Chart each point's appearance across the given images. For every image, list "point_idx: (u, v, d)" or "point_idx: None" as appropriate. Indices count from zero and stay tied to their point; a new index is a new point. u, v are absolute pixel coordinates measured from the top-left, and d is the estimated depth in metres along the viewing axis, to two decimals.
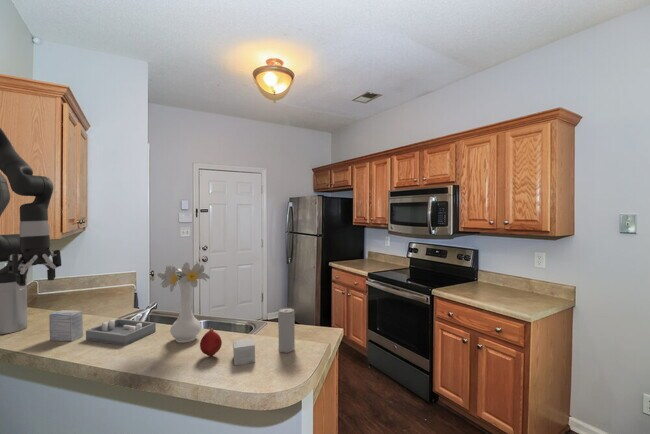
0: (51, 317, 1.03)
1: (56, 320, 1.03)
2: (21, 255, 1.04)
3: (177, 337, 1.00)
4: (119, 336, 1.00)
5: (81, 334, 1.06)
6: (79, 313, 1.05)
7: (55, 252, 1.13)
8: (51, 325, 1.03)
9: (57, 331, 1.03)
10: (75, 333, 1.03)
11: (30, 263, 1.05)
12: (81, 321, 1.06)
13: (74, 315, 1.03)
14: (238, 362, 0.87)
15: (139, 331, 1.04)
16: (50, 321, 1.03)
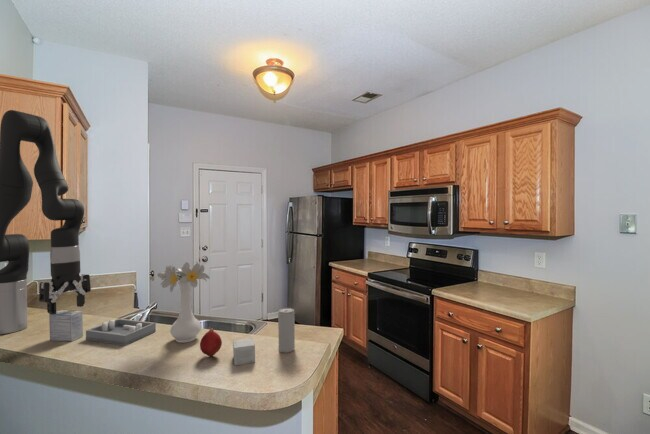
0: (51, 317, 1.03)
1: (56, 320, 1.03)
2: (52, 282, 1.00)
3: (177, 337, 1.00)
4: (119, 336, 1.00)
5: (81, 334, 1.06)
6: (79, 313, 1.05)
7: (85, 277, 1.09)
8: (51, 325, 1.03)
9: (57, 331, 1.03)
10: (75, 333, 1.03)
11: (61, 291, 1.01)
12: (81, 321, 1.06)
13: (74, 315, 1.03)
14: (238, 362, 0.87)
15: (139, 331, 1.04)
16: (50, 321, 1.03)
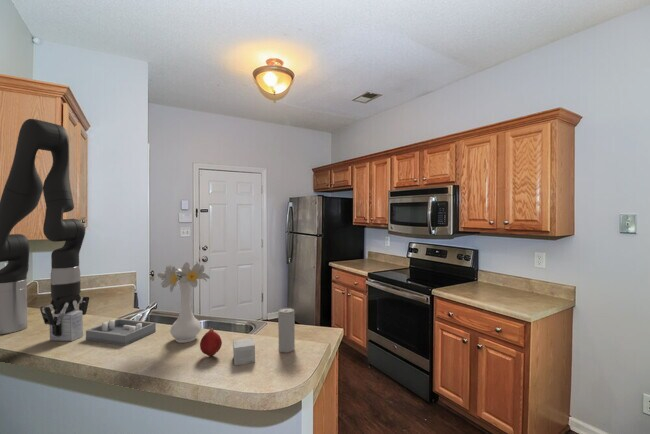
0: None
1: None
2: (52, 305, 1.00)
3: (177, 337, 1.00)
4: (119, 336, 1.00)
5: (81, 334, 1.06)
6: (79, 313, 1.05)
7: (84, 299, 1.10)
8: (51, 325, 1.03)
9: None
10: (75, 333, 1.03)
11: (63, 312, 1.02)
12: (81, 321, 1.06)
13: (74, 314, 1.03)
14: (238, 362, 0.87)
15: (139, 331, 1.04)
16: None
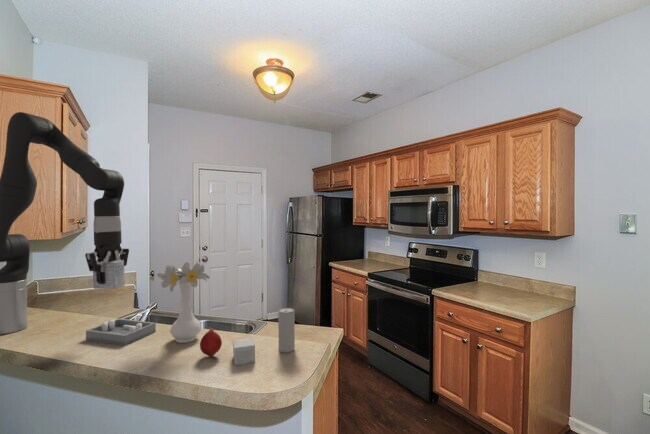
0: None
1: None
2: (96, 252, 1.01)
3: (177, 337, 1.00)
4: (119, 336, 1.00)
5: (123, 283, 1.07)
6: (121, 262, 1.06)
7: (124, 250, 1.11)
8: (94, 273, 1.04)
9: None
10: (118, 281, 1.05)
11: (106, 260, 1.03)
12: (123, 270, 1.07)
13: (117, 263, 1.04)
14: (238, 362, 0.87)
15: (139, 331, 1.04)
16: None
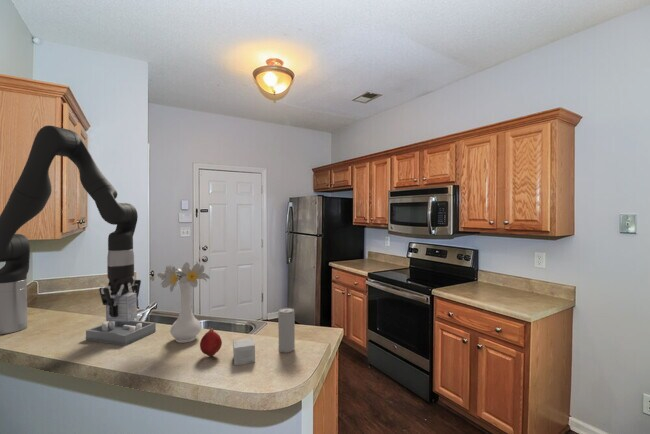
0: None
1: None
2: (110, 286, 1.03)
3: (177, 337, 1.00)
4: (119, 336, 1.00)
5: (135, 315, 1.08)
6: (134, 295, 1.07)
7: (136, 282, 1.12)
8: (107, 306, 1.05)
9: None
10: (130, 314, 1.06)
11: (119, 293, 1.05)
12: (135, 303, 1.08)
13: (130, 296, 1.06)
14: (238, 362, 0.87)
15: (139, 331, 1.04)
16: None
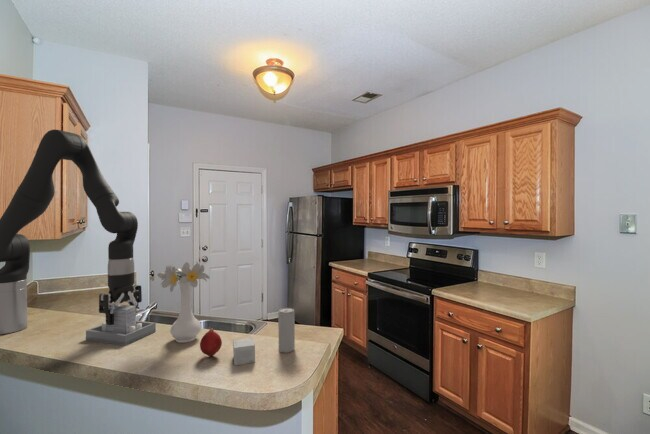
0: None
1: None
2: (110, 294, 1.03)
3: (177, 337, 1.00)
4: (119, 336, 1.00)
5: None
6: (133, 308, 1.07)
7: (137, 288, 1.12)
8: None
9: (113, 325, 1.05)
10: None
11: (118, 302, 1.04)
12: (134, 316, 1.08)
13: (128, 309, 1.05)
14: (238, 362, 0.87)
15: (139, 331, 1.04)
16: None
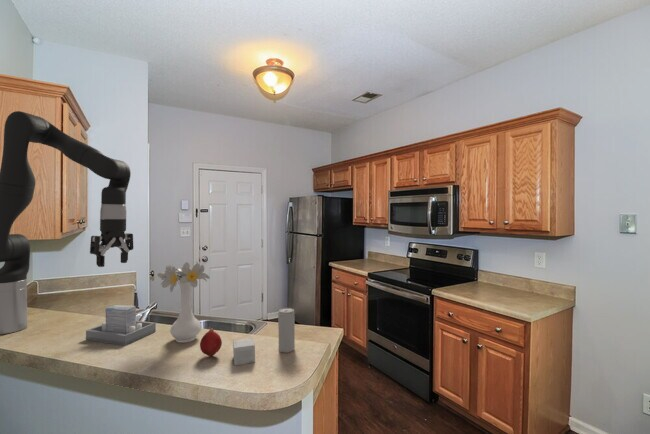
0: (107, 311, 1.05)
1: (111, 315, 1.05)
2: (102, 237, 1.06)
3: (177, 337, 1.00)
4: (119, 336, 1.00)
5: None
6: (133, 308, 1.07)
7: (129, 236, 1.16)
8: (107, 319, 1.05)
9: (113, 325, 1.05)
10: None
11: (109, 245, 1.08)
12: (134, 316, 1.08)
13: (128, 309, 1.05)
14: (238, 362, 0.87)
15: (139, 331, 1.04)
16: (106, 315, 1.05)
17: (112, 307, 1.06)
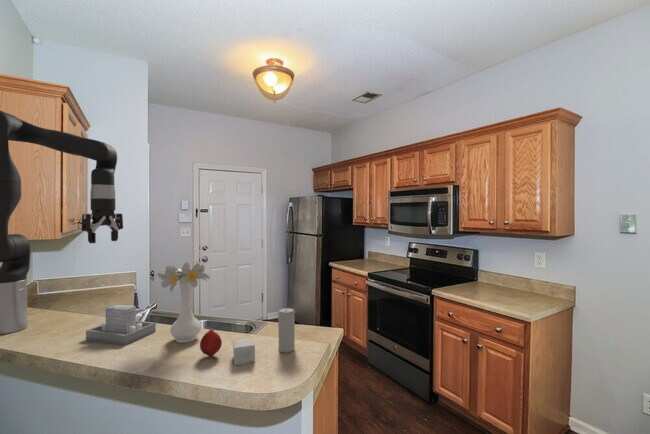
0: (107, 311, 1.05)
1: (111, 315, 1.05)
2: (92, 215, 1.13)
3: (177, 337, 1.00)
4: (119, 336, 1.00)
5: None
6: (133, 308, 1.07)
7: (118, 215, 1.23)
8: (107, 319, 1.05)
9: (113, 325, 1.05)
10: None
11: (100, 223, 1.15)
12: (134, 316, 1.08)
13: (128, 309, 1.05)
14: (238, 362, 0.87)
15: (139, 331, 1.04)
16: (106, 315, 1.05)
17: (112, 307, 1.06)
